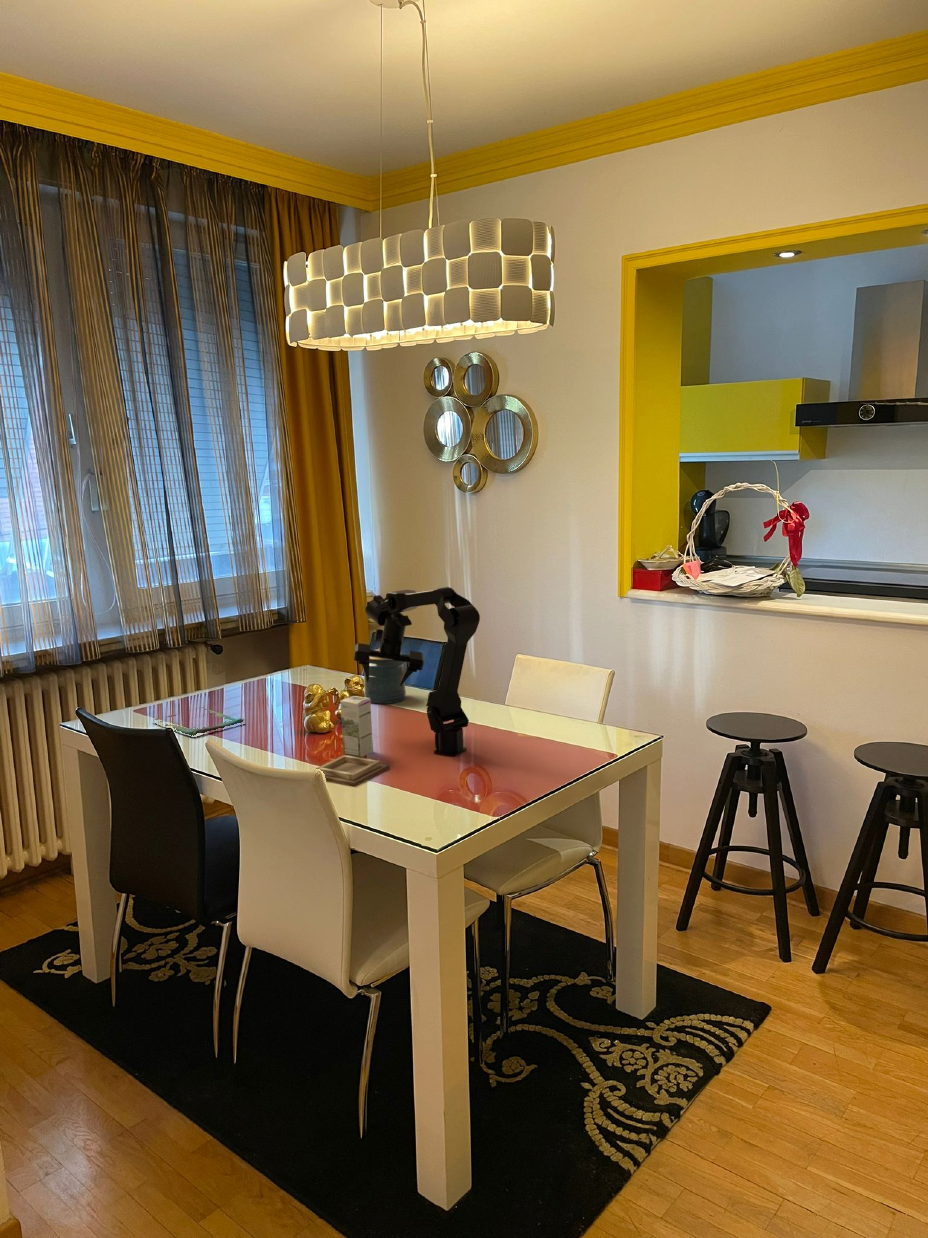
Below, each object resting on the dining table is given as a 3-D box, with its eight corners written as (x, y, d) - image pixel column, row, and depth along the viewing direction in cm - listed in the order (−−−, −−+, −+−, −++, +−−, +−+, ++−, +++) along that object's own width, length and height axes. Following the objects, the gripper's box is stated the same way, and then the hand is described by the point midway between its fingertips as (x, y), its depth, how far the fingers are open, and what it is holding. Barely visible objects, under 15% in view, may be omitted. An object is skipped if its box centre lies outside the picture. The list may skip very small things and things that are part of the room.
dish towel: (193, 741, 253) (192, 732, 252) (151, 725, 269) (150, 717, 268) (246, 726, 265) (245, 718, 265) (203, 712, 281) (202, 704, 281)
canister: (390, 691, 297) (388, 638, 294) (414, 698, 287) (412, 643, 284) (356, 699, 289) (353, 644, 286) (380, 707, 279) (377, 650, 276)
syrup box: (374, 751, 237) (371, 697, 235) (360, 758, 232) (357, 702, 230) (356, 748, 240) (353, 694, 237) (342, 755, 235) (339, 700, 232)
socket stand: (389, 768, 224) (389, 760, 224) (354, 786, 212) (353, 778, 212) (343, 759, 231) (343, 752, 231) (307, 777, 219) (307, 769, 219)
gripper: (426, 625, 255) (416, 673, 262) (359, 615, 252) (351, 664, 259) (428, 644, 245) (417, 693, 252) (358, 633, 242) (349, 684, 249)
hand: (384, 683), depth 253 cm, fingers open, 9 cm apart
